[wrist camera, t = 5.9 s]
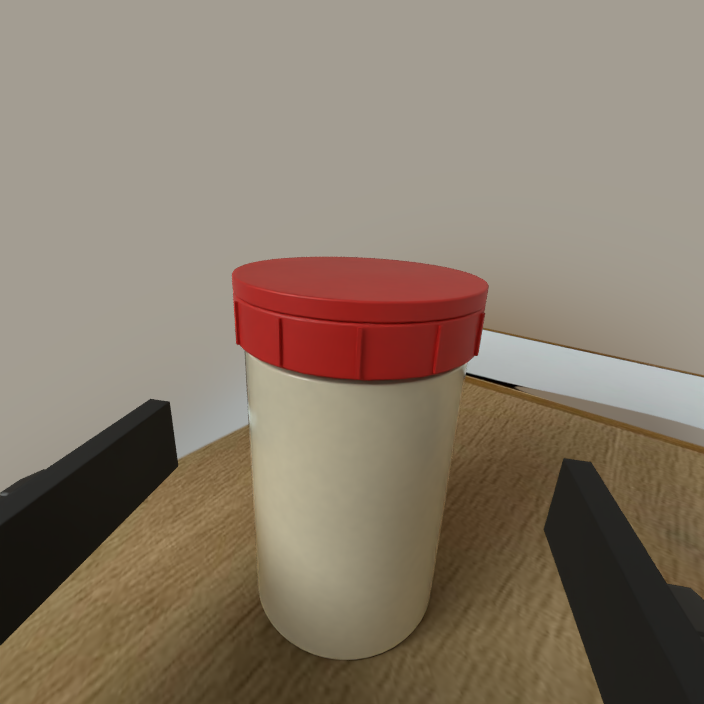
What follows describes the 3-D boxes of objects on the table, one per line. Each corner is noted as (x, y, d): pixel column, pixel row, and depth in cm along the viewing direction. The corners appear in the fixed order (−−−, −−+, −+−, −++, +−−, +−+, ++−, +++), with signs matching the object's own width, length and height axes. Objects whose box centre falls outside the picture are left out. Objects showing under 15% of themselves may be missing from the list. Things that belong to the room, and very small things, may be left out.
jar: (261, 685, 12) (239, 329, 8) (255, 518, 18) (242, 272, 14) (464, 634, 14) (531, 320, 10) (395, 498, 20) (419, 273, 16)
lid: (231, 392, 8) (225, 304, 8) (237, 306, 15) (235, 255, 14) (534, 371, 10) (551, 299, 9) (418, 302, 17) (423, 257, 16)
